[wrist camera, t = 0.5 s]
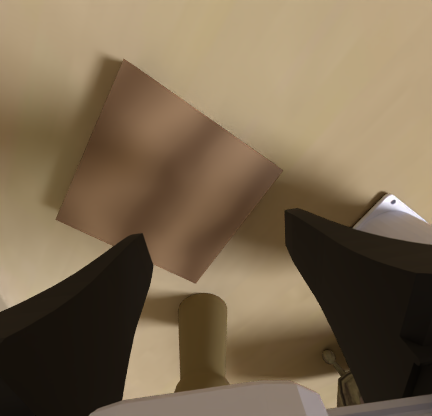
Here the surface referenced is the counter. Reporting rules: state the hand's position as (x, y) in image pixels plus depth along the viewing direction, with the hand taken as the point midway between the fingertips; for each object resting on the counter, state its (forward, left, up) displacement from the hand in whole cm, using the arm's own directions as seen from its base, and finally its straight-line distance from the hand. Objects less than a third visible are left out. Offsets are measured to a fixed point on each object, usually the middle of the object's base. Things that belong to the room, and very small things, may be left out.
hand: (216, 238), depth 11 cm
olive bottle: (-8, +15, -10) cm, 20 cm away
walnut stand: (+3, +3, -10) cm, 11 cm away
